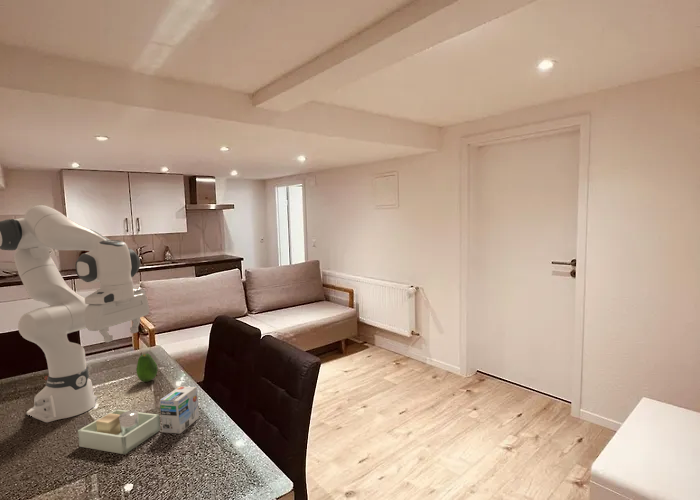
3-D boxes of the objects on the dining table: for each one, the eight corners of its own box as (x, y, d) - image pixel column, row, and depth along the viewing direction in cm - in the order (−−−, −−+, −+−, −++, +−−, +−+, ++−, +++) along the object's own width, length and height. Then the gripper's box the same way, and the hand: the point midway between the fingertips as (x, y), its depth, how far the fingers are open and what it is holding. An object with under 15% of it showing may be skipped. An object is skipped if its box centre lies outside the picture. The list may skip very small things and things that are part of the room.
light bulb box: (180, 434, 124) (177, 400, 123) (161, 433, 126) (158, 400, 125) (200, 417, 135) (197, 386, 134) (182, 416, 136) (179, 385, 135)
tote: (79, 446, 120) (77, 430, 120) (118, 423, 133) (116, 409, 133) (124, 454, 115) (123, 437, 114) (160, 429, 128) (159, 414, 127)
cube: (110, 438, 122) (108, 422, 121) (97, 436, 123) (96, 421, 123) (123, 430, 127) (122, 414, 126) (111, 428, 128) (110, 413, 128)
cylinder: (130, 441, 119) (127, 419, 119) (117, 439, 121) (115, 417, 120) (143, 432, 124) (141, 411, 123) (131, 430, 126) (129, 409, 125)
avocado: (133, 384, 166) (130, 355, 165) (149, 376, 173) (146, 349, 172) (147, 386, 163) (144, 357, 162) (162, 378, 170) (160, 351, 169)
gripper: (137, 286, 133) (140, 327, 135) (78, 299, 114) (84, 346, 115) (152, 286, 132) (155, 328, 133) (95, 300, 112) (100, 348, 113)
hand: (122, 337), depth 124 cm, fingers open, 8 cm apart
